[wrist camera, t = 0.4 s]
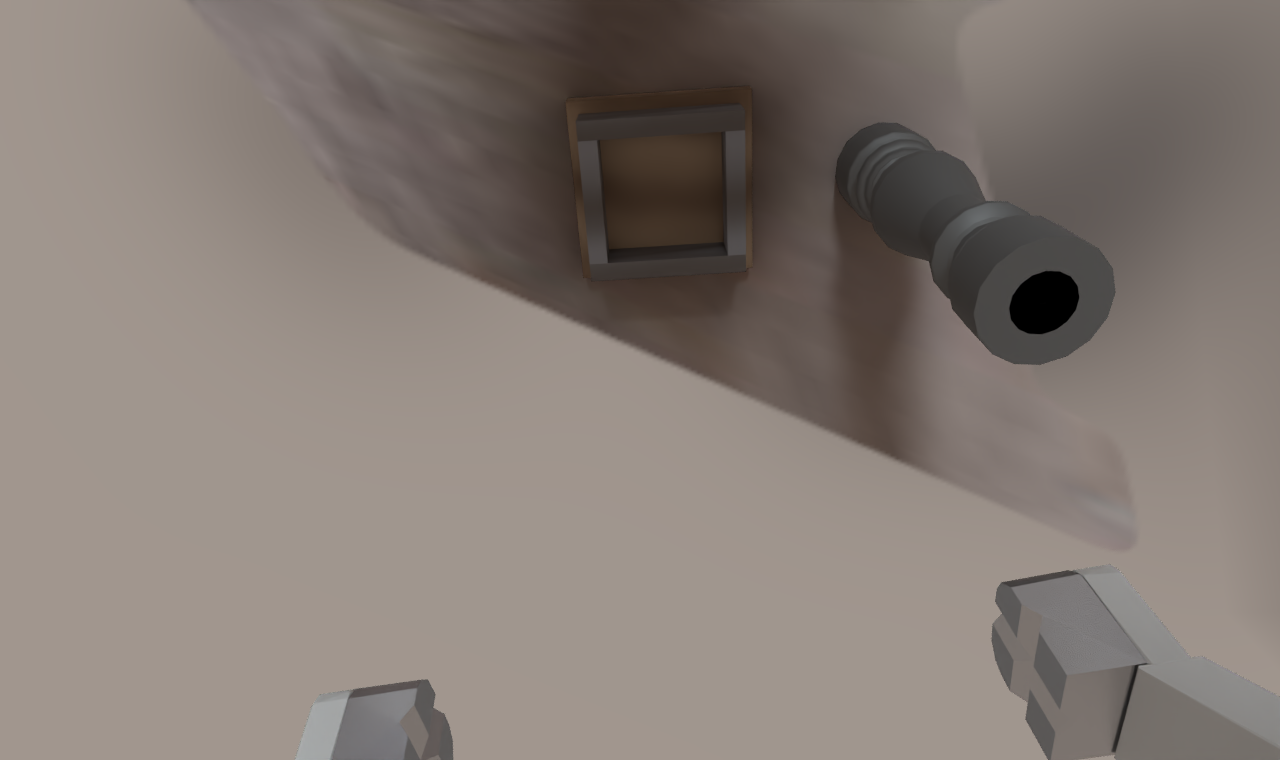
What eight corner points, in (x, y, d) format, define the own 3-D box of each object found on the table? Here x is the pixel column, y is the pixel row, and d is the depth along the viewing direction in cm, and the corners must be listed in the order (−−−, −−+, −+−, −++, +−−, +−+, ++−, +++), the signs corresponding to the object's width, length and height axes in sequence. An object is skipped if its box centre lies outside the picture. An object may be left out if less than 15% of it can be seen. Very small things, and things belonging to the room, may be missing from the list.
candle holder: (837, 219, 57) (965, 380, 35) (832, 130, 54) (968, 243, 32) (926, 205, 56) (1114, 359, 34) (925, 114, 54) (1130, 217, 31)
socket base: (567, 98, 53) (561, 108, 49) (749, 85, 53) (758, 95, 49) (584, 271, 59) (580, 293, 55) (749, 260, 58) (758, 282, 54)
